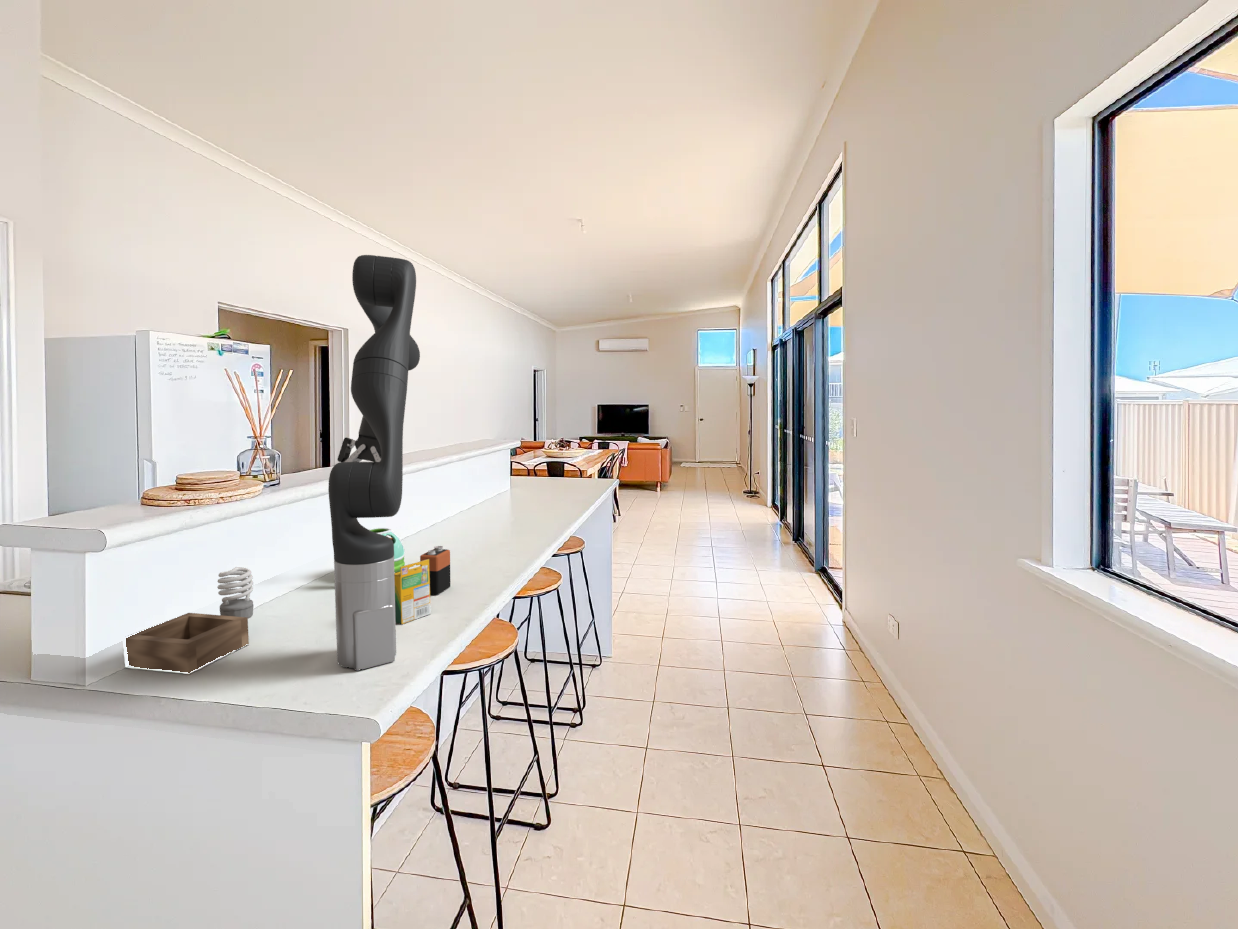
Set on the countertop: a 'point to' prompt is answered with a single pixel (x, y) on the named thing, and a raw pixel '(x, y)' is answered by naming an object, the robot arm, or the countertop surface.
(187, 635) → the square brown bulb holder
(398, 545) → the turtle holder
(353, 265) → the robot arm
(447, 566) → the battery
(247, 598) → the light bulb
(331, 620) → the countertop surface
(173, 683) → the countertop surface
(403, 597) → the crayon box
